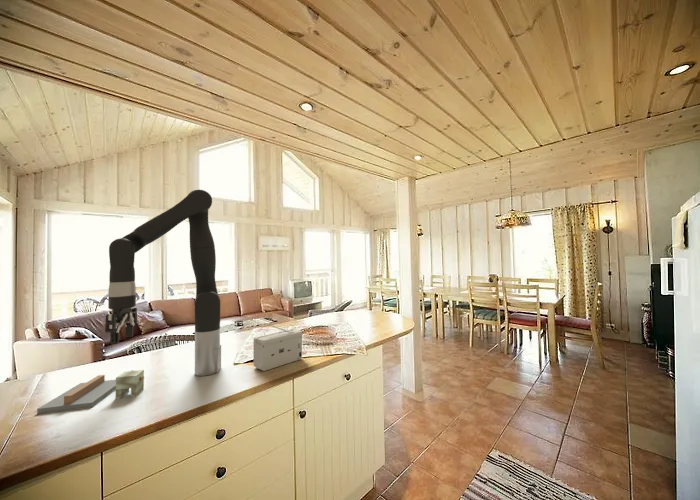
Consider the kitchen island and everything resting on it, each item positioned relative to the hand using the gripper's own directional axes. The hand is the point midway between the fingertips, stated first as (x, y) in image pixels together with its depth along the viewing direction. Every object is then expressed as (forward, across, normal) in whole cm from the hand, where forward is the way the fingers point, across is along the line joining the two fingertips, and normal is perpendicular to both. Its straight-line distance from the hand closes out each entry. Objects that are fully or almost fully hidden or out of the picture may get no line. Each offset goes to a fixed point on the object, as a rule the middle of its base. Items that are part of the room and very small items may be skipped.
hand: (122, 340), depth 97 cm
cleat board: (+18, -1, +10) cm, 21 cm away
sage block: (+18, -3, -4) cm, 19 cm away
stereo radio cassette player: (+19, +13, -53) cm, 58 cm away
